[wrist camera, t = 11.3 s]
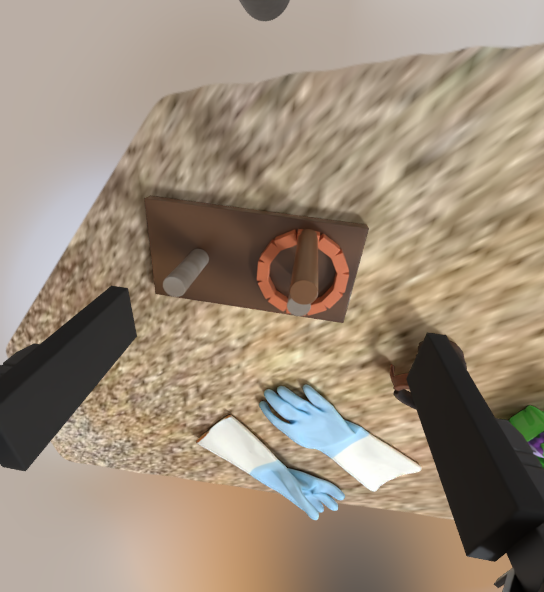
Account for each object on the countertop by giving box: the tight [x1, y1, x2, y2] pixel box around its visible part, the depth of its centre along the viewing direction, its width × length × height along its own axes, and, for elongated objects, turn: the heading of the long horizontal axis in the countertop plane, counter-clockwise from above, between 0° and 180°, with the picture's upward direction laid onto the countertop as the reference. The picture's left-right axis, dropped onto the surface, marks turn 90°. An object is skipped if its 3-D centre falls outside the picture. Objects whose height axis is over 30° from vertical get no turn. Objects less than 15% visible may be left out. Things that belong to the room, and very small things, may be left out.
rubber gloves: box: [196, 385, 422, 520], centre depth 54 cm, size 27×33×6 cm
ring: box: [257, 229, 349, 316], centre depth 31 cm, size 11×11×14 cm
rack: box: [145, 196, 369, 323], centre depth 34 cm, size 13×26×10 cm, turn 84°
